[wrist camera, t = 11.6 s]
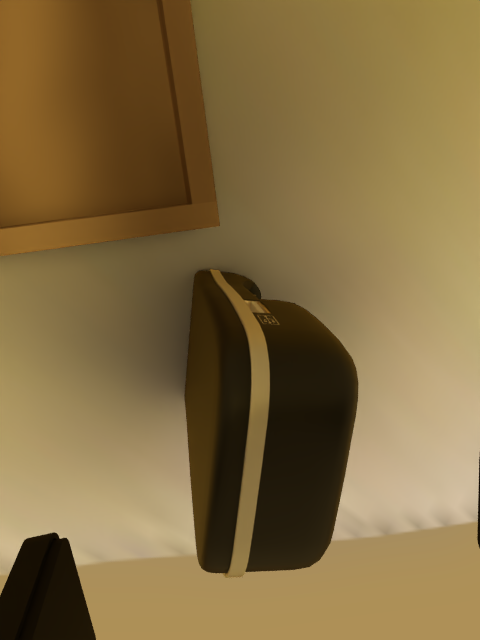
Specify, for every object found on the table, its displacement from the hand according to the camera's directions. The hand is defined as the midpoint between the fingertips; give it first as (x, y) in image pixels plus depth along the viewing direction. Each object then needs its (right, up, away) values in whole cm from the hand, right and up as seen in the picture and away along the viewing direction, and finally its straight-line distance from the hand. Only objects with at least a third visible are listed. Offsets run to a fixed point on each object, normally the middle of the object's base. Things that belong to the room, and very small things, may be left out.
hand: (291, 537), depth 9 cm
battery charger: (-2, +4, +12) cm, 12 cm away
